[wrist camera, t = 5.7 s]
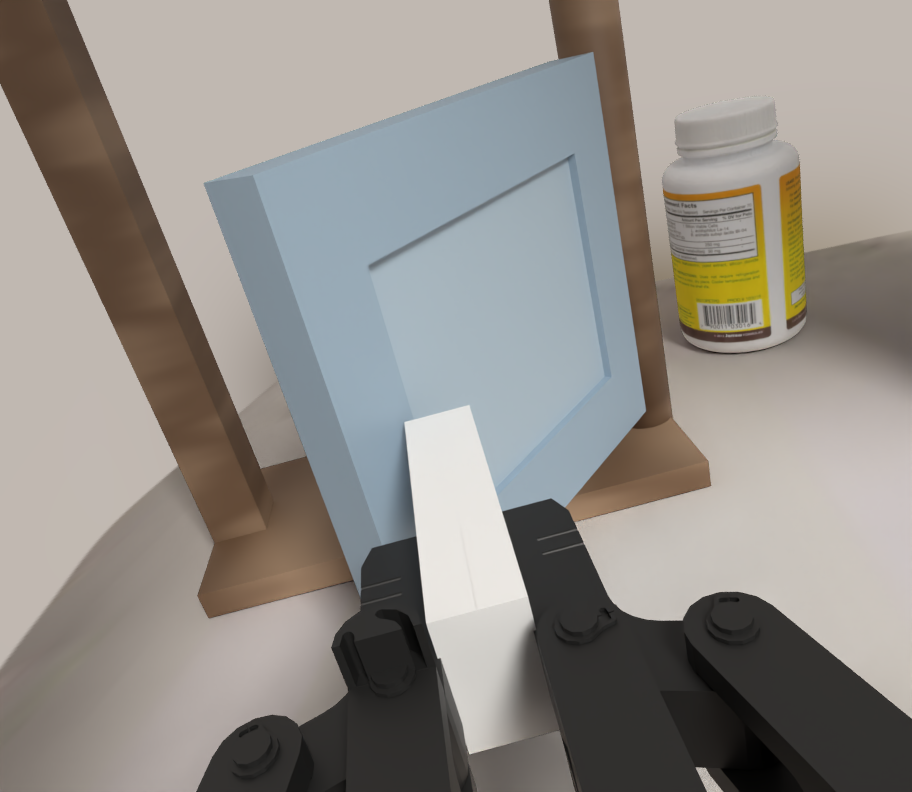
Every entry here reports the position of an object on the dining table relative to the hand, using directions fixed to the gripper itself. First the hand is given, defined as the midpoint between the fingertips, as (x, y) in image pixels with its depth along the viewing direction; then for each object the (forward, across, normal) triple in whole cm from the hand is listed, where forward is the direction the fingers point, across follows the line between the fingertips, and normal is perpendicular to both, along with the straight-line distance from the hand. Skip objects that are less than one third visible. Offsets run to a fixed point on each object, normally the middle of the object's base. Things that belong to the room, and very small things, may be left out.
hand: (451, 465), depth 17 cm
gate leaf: (+4, +2, -5) cm, 7 cm away
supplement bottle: (+17, +14, -7) cm, 23 cm away
